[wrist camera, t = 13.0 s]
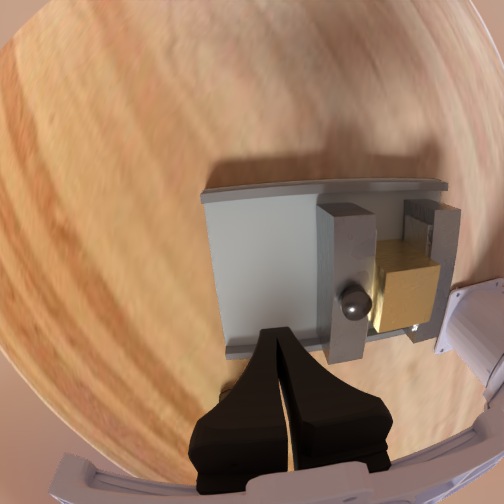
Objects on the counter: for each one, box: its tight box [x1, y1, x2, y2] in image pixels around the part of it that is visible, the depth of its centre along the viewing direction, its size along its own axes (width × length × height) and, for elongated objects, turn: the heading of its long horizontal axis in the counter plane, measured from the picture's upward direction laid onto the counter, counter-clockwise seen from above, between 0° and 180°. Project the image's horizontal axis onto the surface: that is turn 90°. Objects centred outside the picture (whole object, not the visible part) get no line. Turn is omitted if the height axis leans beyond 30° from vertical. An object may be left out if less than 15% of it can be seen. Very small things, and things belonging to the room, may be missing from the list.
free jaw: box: [316, 202, 377, 365], centre depth 17 cm, size 3×10×5 cm, turn 5°
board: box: [200, 178, 448, 360], centre depth 20 cm, size 18×13×2 cm
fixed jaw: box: [402, 199, 461, 344], centre depth 18 cm, size 3×10×4 cm, turn 5°
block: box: [369, 239, 441, 333], centre depth 17 cm, size 4×4×6 cm
